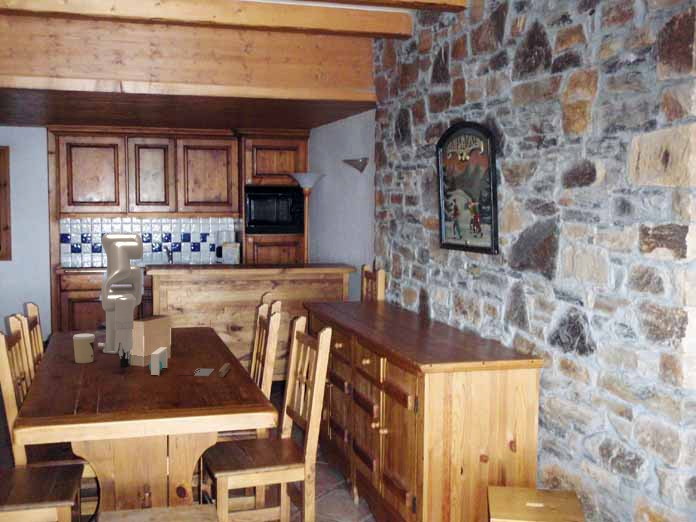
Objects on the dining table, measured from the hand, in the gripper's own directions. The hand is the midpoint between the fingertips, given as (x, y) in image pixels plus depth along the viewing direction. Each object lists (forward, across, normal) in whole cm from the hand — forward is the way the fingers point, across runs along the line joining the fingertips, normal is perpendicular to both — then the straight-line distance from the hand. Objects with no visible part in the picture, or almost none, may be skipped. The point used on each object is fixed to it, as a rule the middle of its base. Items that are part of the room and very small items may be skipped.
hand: (124, 367), depth 314 cm
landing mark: (+2, 0, +31) cm, 31 cm away
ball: (-1, +1, +14) cm, 14 cm away
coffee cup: (+2, -17, -24) cm, 29 cm away
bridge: (+2, 0, +15) cm, 15 cm away
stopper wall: (+2, 0, +43) cm, 43 cm away
